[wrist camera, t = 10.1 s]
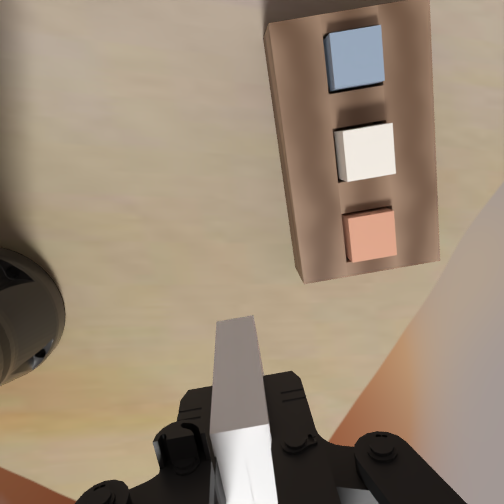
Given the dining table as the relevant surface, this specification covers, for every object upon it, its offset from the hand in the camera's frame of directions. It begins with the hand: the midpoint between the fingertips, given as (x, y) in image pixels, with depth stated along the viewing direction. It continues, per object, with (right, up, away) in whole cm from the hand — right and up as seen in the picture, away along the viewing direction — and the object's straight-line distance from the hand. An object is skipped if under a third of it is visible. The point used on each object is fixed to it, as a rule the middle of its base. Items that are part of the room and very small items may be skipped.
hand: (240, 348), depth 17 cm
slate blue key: (+9, +21, +21) cm, 32 cm away
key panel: (+10, +15, +27) cm, 33 cm away
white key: (+11, +13, +22) cm, 28 cm away
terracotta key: (+12, +6, +26) cm, 29 cm away
